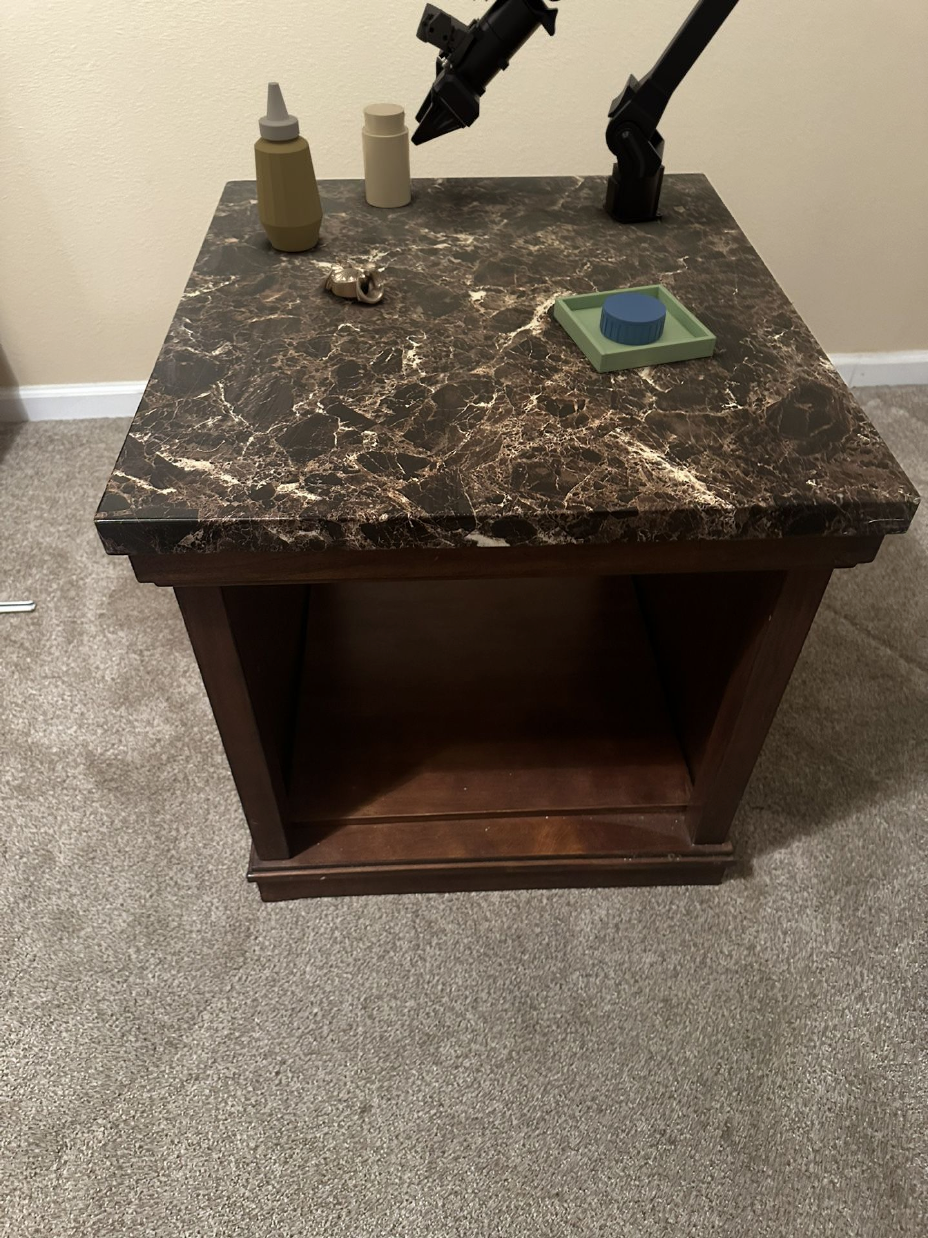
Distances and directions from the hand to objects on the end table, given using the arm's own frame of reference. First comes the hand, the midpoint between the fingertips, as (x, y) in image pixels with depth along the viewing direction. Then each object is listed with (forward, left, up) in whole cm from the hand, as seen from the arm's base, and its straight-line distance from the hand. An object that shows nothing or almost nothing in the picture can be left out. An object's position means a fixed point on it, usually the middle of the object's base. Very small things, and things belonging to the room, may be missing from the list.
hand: (415, 131), depth 112 cm
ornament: (+14, +26, -9) cm, 31 cm away
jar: (+4, -1, -9) cm, 10 cm away
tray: (-13, +45, -9) cm, 47 cm away
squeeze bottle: (+19, +11, -9) cm, 24 cm away
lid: (-13, +45, -6) cm, 47 cm away
